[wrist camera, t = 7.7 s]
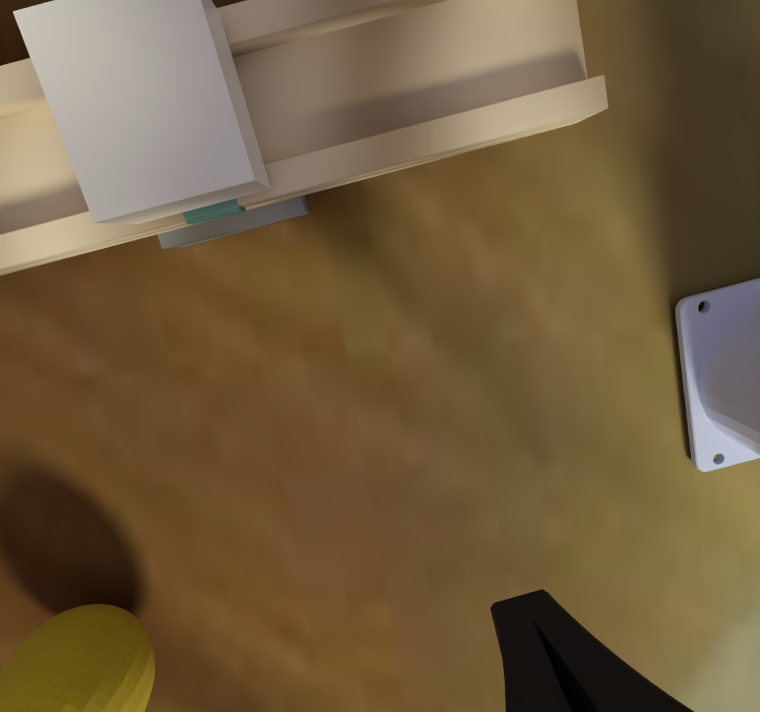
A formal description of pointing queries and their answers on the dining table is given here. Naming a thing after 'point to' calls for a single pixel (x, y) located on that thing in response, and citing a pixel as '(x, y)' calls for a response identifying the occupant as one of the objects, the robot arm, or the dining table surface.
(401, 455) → the dining table surface
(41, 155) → the beam
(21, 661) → the lemon
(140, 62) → the rider
